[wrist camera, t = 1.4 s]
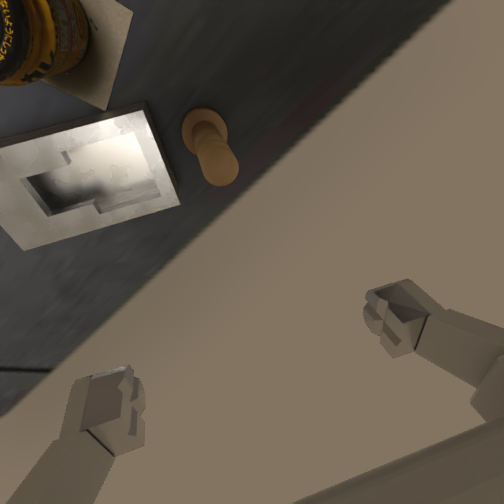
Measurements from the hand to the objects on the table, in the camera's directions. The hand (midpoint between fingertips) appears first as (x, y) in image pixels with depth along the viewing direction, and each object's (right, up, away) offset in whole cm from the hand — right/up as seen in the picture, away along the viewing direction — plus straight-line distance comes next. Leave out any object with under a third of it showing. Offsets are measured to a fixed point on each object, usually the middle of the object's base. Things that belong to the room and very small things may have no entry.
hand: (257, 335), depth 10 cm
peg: (-5, +14, +17) cm, 23 cm away
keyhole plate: (-15, +10, +16) cm, 25 cm away
